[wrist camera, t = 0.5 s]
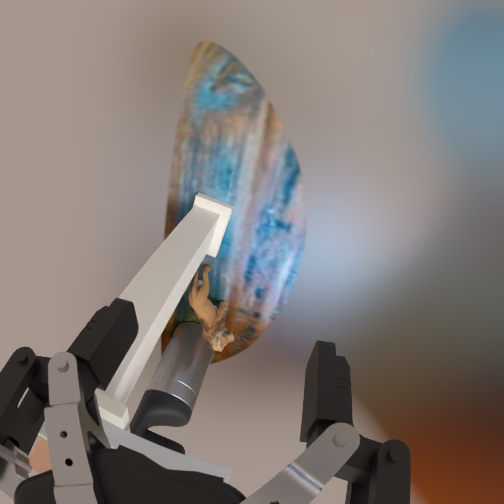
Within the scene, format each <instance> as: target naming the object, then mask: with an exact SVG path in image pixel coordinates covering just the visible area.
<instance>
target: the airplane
mask: <svg viewBox="0 0 504 504" xmlns="http://www.w3.org/2000/svg"><path fill="white" fill-rule="evenodd" d="M101 421H102V425H103V429H104V432H105V434H106V436H107V438H108V440H109V443H110V446H111V448H116V449H117V448H118V446H119V444H120V445H122V446H125V447H127V448H129V449H132V450H134V451H137V452H139V453H142V454H144V455H145V456H147V457H148V458H150V459H151V460H153V461H154V462H156V463H158V464H159V465H161V466H162V467H164V468H166V469H171V470H184V471H198V472H201V473H205V474H209V475H214V476H218V477H223V478H224V482H225V483H227V484H229V480H230V476H231V472H232V469H229V468H225V467H221V466H218V465H214V464H211V463H208V462H204V461H201V460H198V459H195V458H192V457H189V456H186V455H183V454H181V453H178V452H175V451H173V450H170V449H167V448H165V447H162V446H160V445H157V444H155V443H153V442H150V441H148V440H146V439H143V438H141V437H139V436H137V435H134V434H132V433H130V432H128V431H126V430H124V429H122V428H120V427H118V426H116V425H114V424H112V423H110V422H108V421H106V420H104V419H103V418H101ZM38 435H40V438H39V440H38V442H37V444H36V446H35V448H34V449H33V451H32V453H31V455H30V457H29V462H30V465H31V467H32V469H34V470H35V471H37V472H38V473H39V474H40V473H43V472H46V471H48V470H51V469H52V466H51V460H50V455H49V449H48V442H47V434H46V425H45V421H44V423H43V425H42V427H41V429H40V431H39V433H38Z"/></svg>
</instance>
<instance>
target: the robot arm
mask: <svg viewBox="0 0 504 504" xmlns="http://www.w3.org/2000/svg"><path fill="white" fill-rule="evenodd" d="M138 330H139V325H138V321H137V316H136V312H135V307H134V304H133V302H131V301H128V300H124V299H121V298H116V299H115V300H114V301H113V302H112V303H111V305H110V306H109V307H107V306H105V307H103V308H102V309H100V310H98V311H97V312H96V313H95V314H94V316H93V317H92V318H91V320H90V322H88V323H87V325H86V326H85V328H84V329H83V330H82V331H81V333H80V334H79V335H78V337H77V338H76V339H75V341H74V342H73V343H72V345H71V346H70V347H69V349H68V350H67V351H66V352H60V353H57V354H55V355H54V356H53V357H52V358H48V357H41V356H36V355H35V353H34V352H33V350H32V349H31V348H29V347H21V348H19V349H17V350H16V351H15V352H14V353H13V354H12V356H11V357H10V359H9V361H8V362H7V363H6V365H5V366H4V368H3V369H2V371H1V372H0V489H1V490H2V491H4V492H5V493H6V494H7V495H8V496H10V497H11V498H12V499H13V500H14V504H309V503H310V502H311V501H312V500H313V499H314V498H315V497H316V496H317V495H318V494H319V493H320V491H321V489H322V488H323V486H324V485H325V484H326V483H327V482H328V481H329V480H330V479H331V478H332V477H333V476H334V477H337V478H340V479H343V480H346V481H348V486H347V494H346V501H345V504H410V451H409V448H408V447H407V445H406V444H405V443H403V442H402V441H400V440H389V441H386V442H385V443H380V442H377V441H374V440H370V439H368V438H365V437H363V436H362V435H360V434H359V433H358V431H357V430H356V429H355V427H354V425H353V422H352V395H351V380H350V378H351V377H350V366H349V364H348V363H347V361H346V359H345V357H342V356H336V347H335V343H332V342H325V341H317V342H316V343H315V346H314V349H313V351H312V354H311V356H310V358H309V361H308V364H307V368H306V374H305V387H304V401H303V413H302V424H301V434H300V442H307V446H306V450H305V451H304V452H303V453H302V454H301V455H300V456H299V457H298V458H296V459H295V460H294V461H293V462H292V463H291V464H289V465H288V466H287V467H285V468H284V469H283V470H282V471H281V472H279V473H278V474H277V475H276V476H275V477H273V478H272V479H271V480H270V481H269V482H267V483H266V484H265V485H264V486H262V487H261V488H260V489H259V490H257V491H256V492H254V493H253V494H252V495H250V496H249V497H248V498H246V497H245V496H244V495H243V494H242V493H241V492H240V491H238V490H237V489H236V488H234V487H232V486H231V485H229V484H227V483H225V482H224V478H223V477H218V476H214V475H209V474H205V473H201V472H198V471H184V470H171V469H166V468H164V467H162V466H161V465H159V464H158V463H156V462H154V461H153V460H151V459H150V458H148V457H147V456H145V455H144V454H142V453H139V452H137V451H134V450H132V449H129V448H127V447H125V446H122V445H120V444H119V446H118V448H117V449H116V448H111V446H110V443H109V440H108V438H107V436H106V434H105V432H104V429H103V425H102V421H101V416H100V412H99V407H98V402H97V396H96V393H95V390H96V389H97V388H98V389H101V390H103V391H106V389H107V387H108V385H109V383H110V382H111V380H112V378H113V376H114V375H115V373H116V371H117V369H118V368H119V366H120V364H121V363H122V361H123V359H124V357H125V356H126V354H127V352H128V351H129V349H130V347H131V346H132V344H133V342H134V341H135V339H136V337H137V334H138ZM213 352H214V350H213V349H211V348H210V347H209V346H208V345H207V343H206V341H205V340H204V337H203V336H202V332H201V324H198V323H194V322H183V323H180V324H179V325H178V326H177V328H176V330H175V332H174V334H173V336H172V338H171V339H170V341H169V343H168V345H167V347H166V349H165V351H164V353H163V356H162V358H161V360H160V362H159V364H158V366H157V368H156V370H155V372H154V374H153V376H152V378H151V380H150V382H149V385H148V387H147V389H146V391H145V393H144V395H143V397H142V400H141V402H140V405H139V407H138V409H137V411H136V413H135V415H134V417H133V419H132V421H131V423H130V424H129V426H130V433H132V434H134V435H137V436H139V437H141V438H143V439H146V440H148V441H150V442H153V443H155V444H157V445H160V446H162V447H165V448H167V449H170V450H173V451H175V452H178V453H181V454H183V455H185V450H184V447H183V446H182V445H180V444H179V443H177V442H174V441H172V440H170V439H167V438H165V437H163V436H161V435H158V434H156V433H154V432H152V431H149V430H148V428H149V427H152V426H173V427H180V426H184V425H186V424H187V423H188V422H189V420H190V417H191V414H192V411H193V409H194V406H195V403H196V400H197V397H198V394H199V391H200V389H201V386H202V383H203V380H204V377H205V374H206V371H207V369H208V366H209V363H210V360H211V358H212V355H213ZM27 387H28V388H29V390H28V392H27V394H26V395H25V397H24V399H23V401H22V402H21V404H20V406H19V408H18V403H19V401H20V399H21V398H22V396H23V394H24V392H25V391H26V389H27ZM44 421H45V425H46V434H47V442H48V449H49V455H50V460H51V466H52V469H51V470H48V471H46V472H43V473H40V474H38V475H35V476H32V477H30V478H29V476H28V473H30V472H31V470H32V467H31V465H30V462H29V458H28V455H29V453H30V451H31V448H32V446H33V444H34V442H35V440H36V437H37V435H38V433H39V431H40V429H41V427H42V425H43V423H44Z"/></svg>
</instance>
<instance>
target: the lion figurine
mask: <svg viewBox="0 0 504 504" xmlns="http://www.w3.org/2000/svg"><path fill="white" fill-rule="evenodd" d="M210 271H211V267H210V266H209V265H207V266H204V268H203V272H202V275H203V282H202V281H201V280H198V269H197V271H196V272H195V278H194V282H193V286H192V289H191V291H190V292H189V303H190V305H191V307H192V308H193V309H194V310H195V312H196V314H197V316H198V318H199V320H200V322H201V332H202V336H203V337H204V340H205V341H206V343H207V345H208V346H209V347H210V348H211V349H213V350H214V351H221V352H222V349H223V348H224V346H226V345H227V343H229V342H232V341H234V338H233V335H232V332H227V328H226V327H225V321H224V320H223V318H222V317H223V313H224V307H227V306H228V302H226V301H221V303H220V306H219V309H217V307H216V306H215V305H213V304H212V302H211V301H210V300H209V299H207V296H208V293H209V280H208V273H207V272H210ZM198 286H200V287H199V289H198ZM215 310H216V311H215Z"/></svg>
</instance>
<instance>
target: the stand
mask: <svg viewBox="0 0 504 504" xmlns="http://www.w3.org/2000/svg"><path fill="white" fill-rule="evenodd" d="M233 207H234V206H232V205H230V204H227V203H225V202H222V201H220V200H217V199H214V198H212V197H209V196H207V195H204V194H201V193H198V194H197V195H196V197H195V201H194V205H193V208H192V209H191V211H190V212H189V213H188V214H187V215H186V216H185V217H184V218H183V220H182V221H181V222H180V223H179V224H178V225H177V226H176V228H175V229H174V230H173V231H172V232H171V233H170V235H169V236H168V237H167V238H166V239H165V240H164V242H163V243H162V244H161V245H160V246H159V248H158V249H157V250H156V251H155V252H154V254H153V255H152V256H151V257H150V258H149V260H148V261H147V262H146V263H145V265H144V266H143V267H142V268H141V270H140V271H139V272H138V273H137V275H136V276H135V277H134V278H133V280H132V281H131V282H130V284H129V285H128V286H127V287H126V289H125V290H124V291H123V292H122V294H121V295H120V296H119V298H121V299H124V300H128V301H131V302H133V304H134V307H135V312H136V316H137V321H138V325H139V330H138V334H137V337H136V339H135V341H134V342H133V344H132V346H131V347H130V349H129V351H128V352H127V354H126V356H125V357H124V359H123V361H122V363H121V364H120V366H119V368H118V369H117V371H116V373H115V375H114V376H113V378H112V380H111V382H110V383H109V385H108V387H107V389H106V391H103V390H101V389H98V388H97V389H96V390H95V393H96V396H97V402H98V407H99V412H100V416H101V418H103V419H104V420H106V421H108V422H110V423H112V424H114V425H116V426H118V427H120V428H122V429H124V430H126V431H128V432H130V426H129V417H128V409H127V406H125V403H126V401H127V399H128V397H129V395H130V393H131V391H132V389H133V387H134V385H135V383H136V381H137V379H138V377H139V376H140V374H141V372H142V370H143V368H144V366H145V364H146V362H147V360H148V358H149V356H150V354H151V352H152V351H153V349H154V347H155V345H156V343H157V341H158V339H159V337H160V336H161V334H162V332H163V330H164V328H165V326H166V324H167V323H168V321H169V319H170V317H171V315H172V313H173V312H174V310H175V308H176V306H177V304H178V303H179V301H180V299H181V297H182V295H183V294H184V292H185V290H186V288H187V286H188V285H189V283H190V281H191V279H192V278H193V276H194V274H195V272H196V271H197V269H198V267H199V265H200V264H201V262H202V260H203V258H204V257H205V255H206V254H208V255H210V256H213V257H216V255H217V253H218V250H219V247H220V245H221V242H222V239H223V236H224V233H225V230H226V227H227V224H228V222H229V219H230V216H231V213H232V210H233Z"/></svg>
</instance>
